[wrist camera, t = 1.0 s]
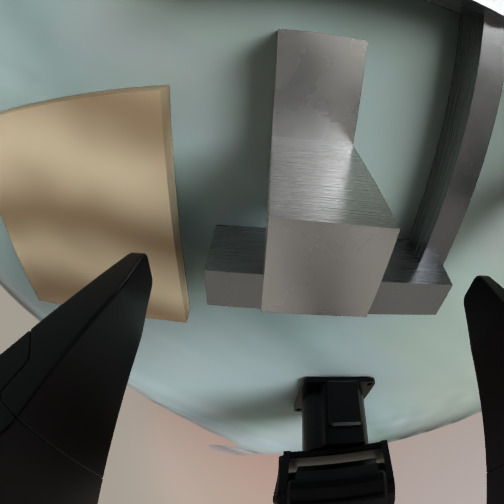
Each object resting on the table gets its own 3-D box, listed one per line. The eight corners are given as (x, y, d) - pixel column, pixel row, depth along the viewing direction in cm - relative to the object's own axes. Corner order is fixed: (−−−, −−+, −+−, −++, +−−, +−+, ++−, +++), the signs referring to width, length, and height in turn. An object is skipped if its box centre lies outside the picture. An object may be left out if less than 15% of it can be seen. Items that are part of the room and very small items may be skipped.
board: (190, 308, 21) (186, 322, 20) (45, 289, 21) (39, 300, 20) (169, 85, 12) (160, 90, 11) (-13, 115, 13) (-26, 122, 12)
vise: (417, 271, 18) (435, 315, 15) (217, 258, 18) (207, 305, 15) (488, -14, 7) (533, -14, 4) (220, -73, 8) (202, -101, 5)
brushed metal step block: (331, 185, 15) (366, 316, 9) (268, 179, 15) (260, 311, 9) (351, 39, 11) (442, 54, 4) (277, 30, 11) (282, 22, 4)
